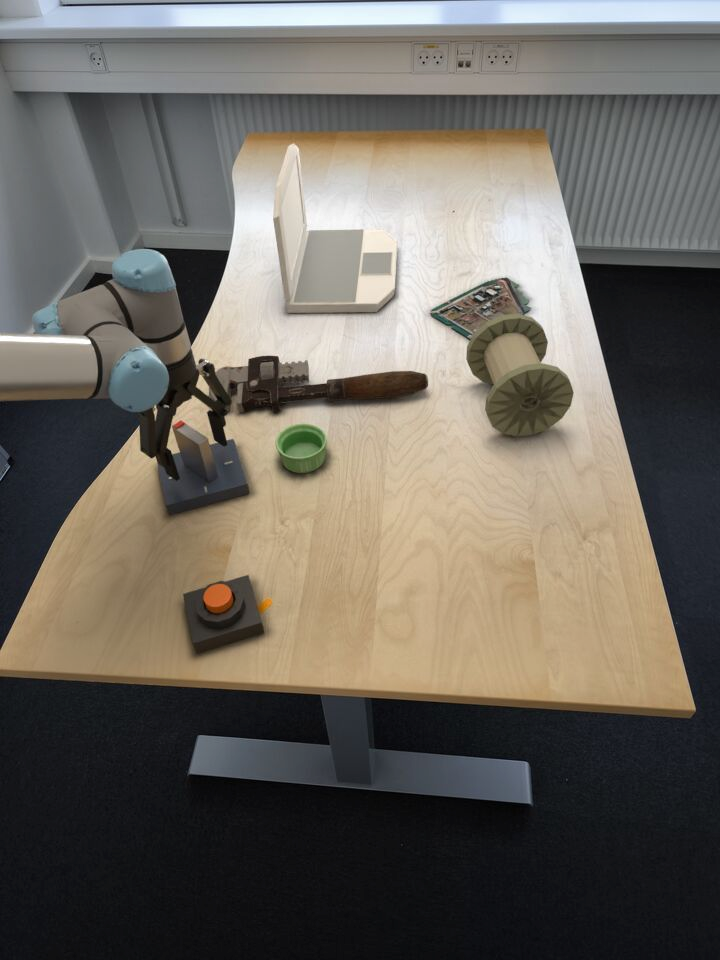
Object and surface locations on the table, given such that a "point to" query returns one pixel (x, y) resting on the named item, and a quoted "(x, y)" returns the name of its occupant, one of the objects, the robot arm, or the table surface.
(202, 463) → the grey upright slab
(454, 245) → the table surface
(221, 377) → the pipe wrench
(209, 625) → the orange push button box
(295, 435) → the ramekin
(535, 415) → the spool
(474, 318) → the circuit board
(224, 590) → the release button
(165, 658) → the table surface
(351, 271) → the laptop
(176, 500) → the dark grey dial base
